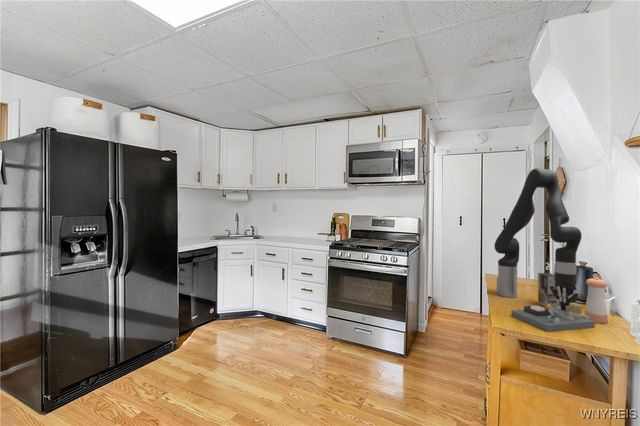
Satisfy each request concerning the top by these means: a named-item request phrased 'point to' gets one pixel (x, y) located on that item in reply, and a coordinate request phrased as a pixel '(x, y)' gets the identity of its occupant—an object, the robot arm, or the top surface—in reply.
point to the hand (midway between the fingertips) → (564, 310)
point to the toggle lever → (550, 310)
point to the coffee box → (547, 290)
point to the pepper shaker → (596, 300)
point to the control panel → (547, 323)
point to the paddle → (573, 311)
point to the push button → (538, 308)
